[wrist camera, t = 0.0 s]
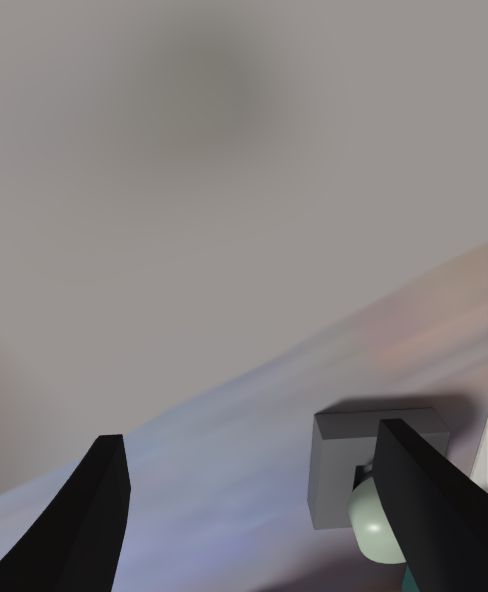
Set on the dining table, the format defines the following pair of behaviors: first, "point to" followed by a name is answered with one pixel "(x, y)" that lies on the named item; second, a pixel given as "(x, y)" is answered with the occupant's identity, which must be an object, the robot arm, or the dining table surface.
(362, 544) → the button
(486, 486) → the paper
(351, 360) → the dining table surface
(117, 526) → the robot arm
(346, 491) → the button base
